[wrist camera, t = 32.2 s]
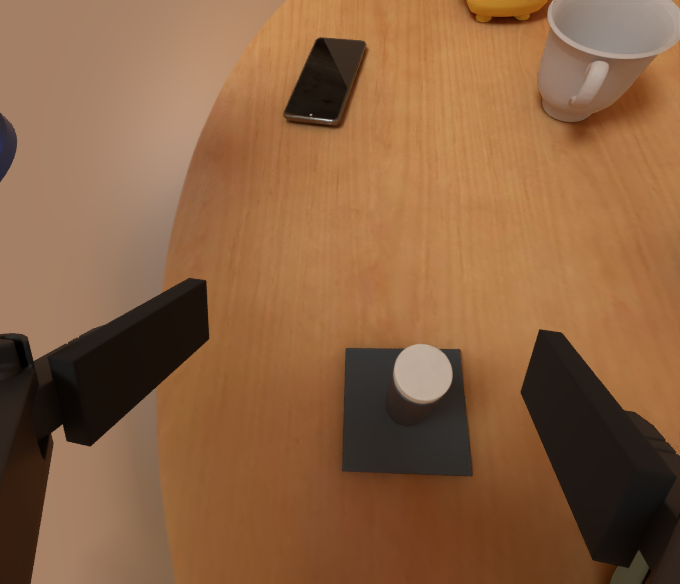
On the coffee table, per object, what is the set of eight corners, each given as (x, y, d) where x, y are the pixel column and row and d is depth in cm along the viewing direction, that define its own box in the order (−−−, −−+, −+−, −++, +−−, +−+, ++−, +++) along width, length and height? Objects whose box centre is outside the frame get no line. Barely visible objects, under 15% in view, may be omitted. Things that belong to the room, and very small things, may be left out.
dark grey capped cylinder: (385, 427, 31) (393, 402, 19) (384, 387, 32) (391, 341, 21) (425, 428, 31) (457, 403, 19) (423, 388, 32) (452, 341, 20)
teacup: (496, 145, 44) (528, 60, 35) (527, 63, 49) (562, -29, 40) (609, 173, 41) (677, 89, 32) (629, 83, 46) (692, -11, 37)
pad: (342, 471, 31) (342, 471, 30) (346, 350, 35) (345, 347, 34) (470, 476, 30) (472, 476, 29) (458, 351, 34) (459, 349, 33)
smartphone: (367, 40, 52) (338, 121, 45) (367, 48, 53) (339, 129, 46) (316, 36, 53) (280, 115, 47) (317, 44, 54) (282, 122, 48)
